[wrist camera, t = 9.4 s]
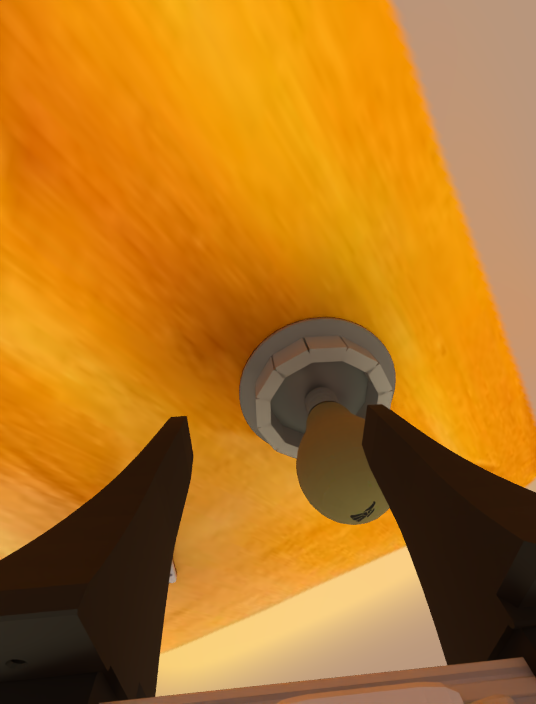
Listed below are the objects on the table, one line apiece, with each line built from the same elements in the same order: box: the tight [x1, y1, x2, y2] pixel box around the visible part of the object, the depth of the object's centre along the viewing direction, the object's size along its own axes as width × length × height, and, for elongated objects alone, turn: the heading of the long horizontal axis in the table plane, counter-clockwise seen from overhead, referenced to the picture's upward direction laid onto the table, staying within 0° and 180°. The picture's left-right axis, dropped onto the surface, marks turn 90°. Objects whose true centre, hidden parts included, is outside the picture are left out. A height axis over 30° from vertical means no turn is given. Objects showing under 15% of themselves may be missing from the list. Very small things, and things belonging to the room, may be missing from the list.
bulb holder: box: [240, 317, 396, 459], centre depth 23 cm, size 12×12×2 cm
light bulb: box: [296, 387, 390, 525], centre depth 19 cm, size 6×6×10 cm
